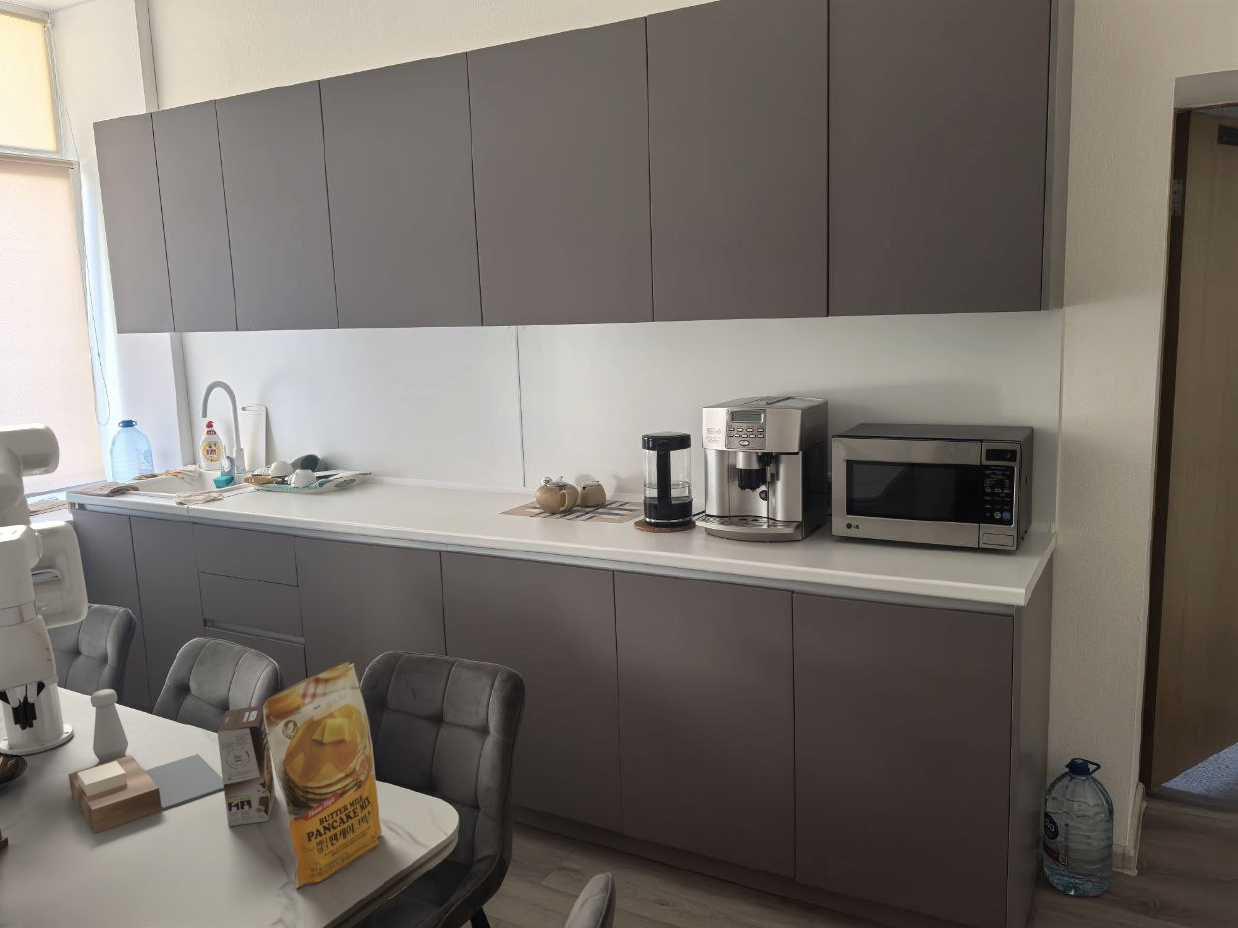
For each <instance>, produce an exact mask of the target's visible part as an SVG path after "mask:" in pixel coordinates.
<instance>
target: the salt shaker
mask: <svg viewBox="0 0 1238 928" xmlns="http://www.w3.org/2000/svg"><path fill="white" fill-rule="evenodd" d="M117 701H118V695H117V691H115V690H114V689H112V688H111V689H110V688H104V689H100V690H96V691H95V692H93V693H92V695H91V696H90V704H91V706H92V707H93V708H95V719H94V728H93V730H94V731H93V741H92V742H93V744H92V751H93V754H94V756H95V757H96V758H97V759H98V761H99V762H100V763H101V764H103V763H106V762H110V761H113V760H116V759H120V758H123V757H126V753H127V750H128V746H129V740H128V738H127V736H126V732H125V729H124V727H123V723H122V721H121V718H120V716H119V713H118V710H117V708H116V705H115V703H116V702H117Z"/></svg>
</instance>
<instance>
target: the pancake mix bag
mask: <svg viewBox="0 0 1238 928" xmlns="http://www.w3.org/2000/svg"><path fill="white" fill-rule="evenodd" d="M262 706H263V707H262V714H263V722H264V727H265V732H266V737H267V741H268V744H269V746H270V753H271V759H272V761H273V762H272V763H273V765H274V766H273V767H274V771H275V775H276V780H277V782H278V783H277V784H278V785H279V789H280V791H281V794H282V796H283V800H284V802H285V807H286V814H287V820H288V828H289V829H288V830H289V835H290V837H291V840H292V843H293V846H294V847H293V848H294V853H295V859H296V868H295V869H296V870H295V875H294V878H295V879H294V881H295V882H294V883H295V885H294V886H295V887H294V888H295V889H299V888H301V887H303V886H304V885H315V884H320V883H321V882H323V881H325V880H327V879H330V877H332V876H334V875H335V874H337V873H338V872H340V871H342V870H344V869H345V868H346V867H348V866H349V865H351V864H352V863H354V862H355V861H357V860H358V859H360V858H361V857H363V856H365V855H367V854H368V853H369V852H371V851H373V850H374V849H376V848H377V847H378V846H379V845H380V841H379V837H381V836H382V834H383V830H382V826H381V823H380V817H379V816H380V812H379V808H380V807H379V799H378V787H377V780H376V770H375V759H374V757H375V756H374V749H373V746H374V745H373V740H372V735H371V726H370V721H369V720H370V719H369V716H368V712H367V708H366V703H365V699H364V696H363V692H362V687H361V682H360V678H359V676H358V672H357V669H356V665H355V663H351V664H350V660H346V661H343V662H340V663H338V664H336V665H334V666H331V667H329V668H328V669H325V670H323V671H322V672H320V673H317V674H314V675H312V676H310V677H307V678H305V679H303V680H300V681H299V682H297V683H295V684H293V685H291V686H289V687H287V688H285V689H283V690H281V691H279V692H277V693H276V694H273V695H272V696H270V697H268V698H266V700H265V702H264V704H263V705H262Z"/></svg>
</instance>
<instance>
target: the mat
mask: <svg viewBox="0 0 1238 928" xmlns="http://www.w3.org/2000/svg"><path fill="white" fill-rule="evenodd" d="M144 771H145V772H146V773H147V774H148V775H149V777H150V778H151V779H152V780H153V781H154V782H155V784H156V785H157V786H158V787H159V791H160V798H161V806H162V811H164V810H167V809H171V808H174V807H176V806H179V805H182V804H183V805H184V804H186V803H189V802H190V801H194V800H197V799H199V798H198V797H200V798H202V797H201V796H203V797H206V796H208V794H209V795H212V794H215V793H217V792H216V791H218V792H220V791H219V790H221V791H223V790H222V789H224V785H223V777H222V776H221V775H220V774H219V773H218V772H217V771H216V770H215V769H214V768H213V767H211V765H210V764H209V763H208V762H207V761H206V760H205V759H204V758H203V757H202V756H201V755H200V754H199V753H196V754H193V755H189V756H187V757H183V758H181V759H178V760H174V761H171V762H167V763H164V764H162V765H158V766H155V767H152V768H148V769H144ZM214 792H215V793H214ZM211 793H212V794H211ZM196 798H197V799H196ZM193 799H194V800H193Z"/></svg>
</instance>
